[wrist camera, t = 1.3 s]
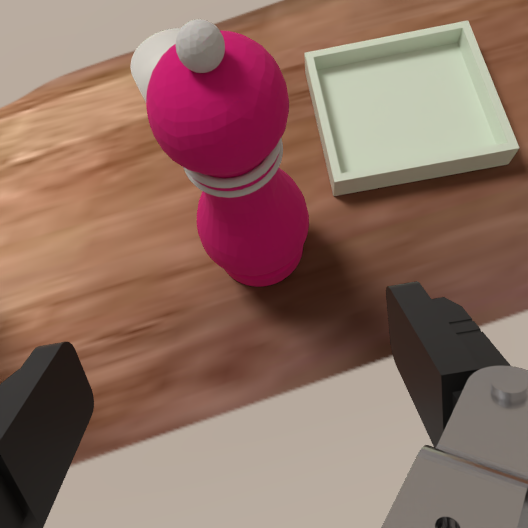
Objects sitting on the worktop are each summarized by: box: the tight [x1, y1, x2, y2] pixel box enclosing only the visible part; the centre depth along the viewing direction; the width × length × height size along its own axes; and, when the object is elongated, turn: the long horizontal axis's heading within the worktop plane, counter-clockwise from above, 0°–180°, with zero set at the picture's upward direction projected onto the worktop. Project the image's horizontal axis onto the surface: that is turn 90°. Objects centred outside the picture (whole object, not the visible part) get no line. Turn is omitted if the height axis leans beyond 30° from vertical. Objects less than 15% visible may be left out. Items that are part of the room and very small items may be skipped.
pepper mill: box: [146, 19, 309, 287], centre depth 26 cm, size 7×7×20 cm
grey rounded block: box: [131, 28, 181, 102], centre depth 37 cm, size 6×6×6 cm
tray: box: [305, 21, 519, 196], centre depth 37 cm, size 13×12×2 cm
